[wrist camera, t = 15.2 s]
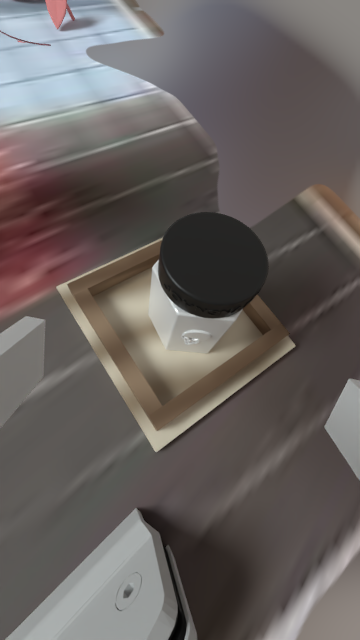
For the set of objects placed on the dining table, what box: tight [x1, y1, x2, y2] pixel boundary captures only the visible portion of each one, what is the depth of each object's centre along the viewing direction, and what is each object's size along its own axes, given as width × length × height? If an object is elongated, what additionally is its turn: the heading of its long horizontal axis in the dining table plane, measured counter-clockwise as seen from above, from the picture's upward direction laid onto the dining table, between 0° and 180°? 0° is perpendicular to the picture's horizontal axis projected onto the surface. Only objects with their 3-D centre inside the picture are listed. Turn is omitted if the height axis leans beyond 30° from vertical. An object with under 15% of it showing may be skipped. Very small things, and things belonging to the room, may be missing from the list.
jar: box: [148, 212, 268, 354], centre depth 25 cm, size 9×8×12 cm
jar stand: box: [56, 238, 296, 452], centre depth 30 cm, size 20×19×3 cm
